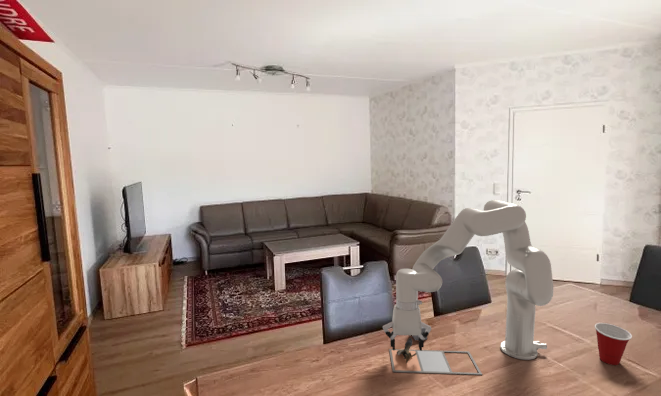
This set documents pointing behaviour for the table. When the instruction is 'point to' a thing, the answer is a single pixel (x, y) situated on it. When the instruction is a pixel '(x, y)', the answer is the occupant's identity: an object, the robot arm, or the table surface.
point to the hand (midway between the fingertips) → (406, 348)
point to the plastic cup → (611, 342)
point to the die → (418, 336)
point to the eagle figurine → (406, 350)
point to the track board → (426, 362)
